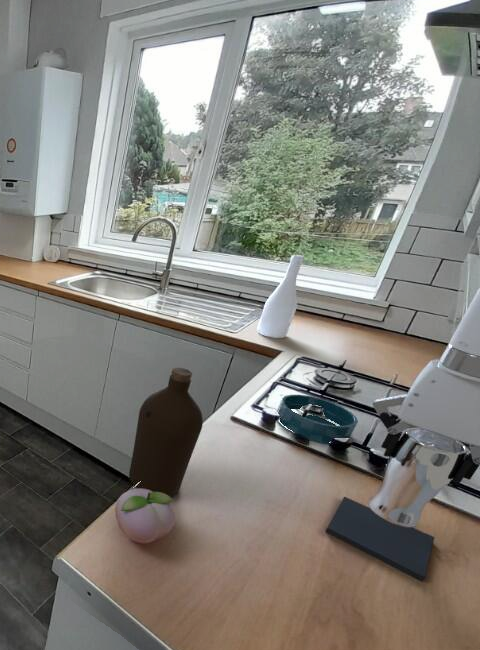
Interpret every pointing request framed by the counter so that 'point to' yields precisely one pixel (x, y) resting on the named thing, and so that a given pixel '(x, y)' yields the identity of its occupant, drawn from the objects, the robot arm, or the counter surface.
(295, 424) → the pan
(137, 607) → the counter surface
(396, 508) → the beer glass
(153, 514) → the decorative fruit
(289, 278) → the wine bottle
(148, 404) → the olive oil
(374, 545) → the mat
